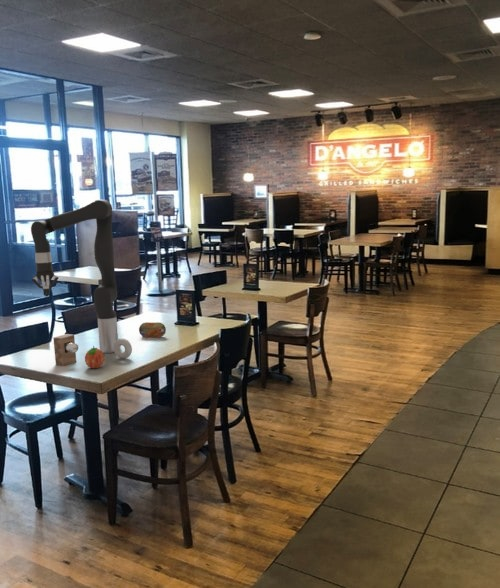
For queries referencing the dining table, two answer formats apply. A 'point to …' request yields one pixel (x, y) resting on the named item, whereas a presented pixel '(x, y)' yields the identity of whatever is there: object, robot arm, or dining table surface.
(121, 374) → the dining table surface
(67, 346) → the peg
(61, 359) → the wooden block
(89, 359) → the fruit
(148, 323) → the tin
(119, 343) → the donut
